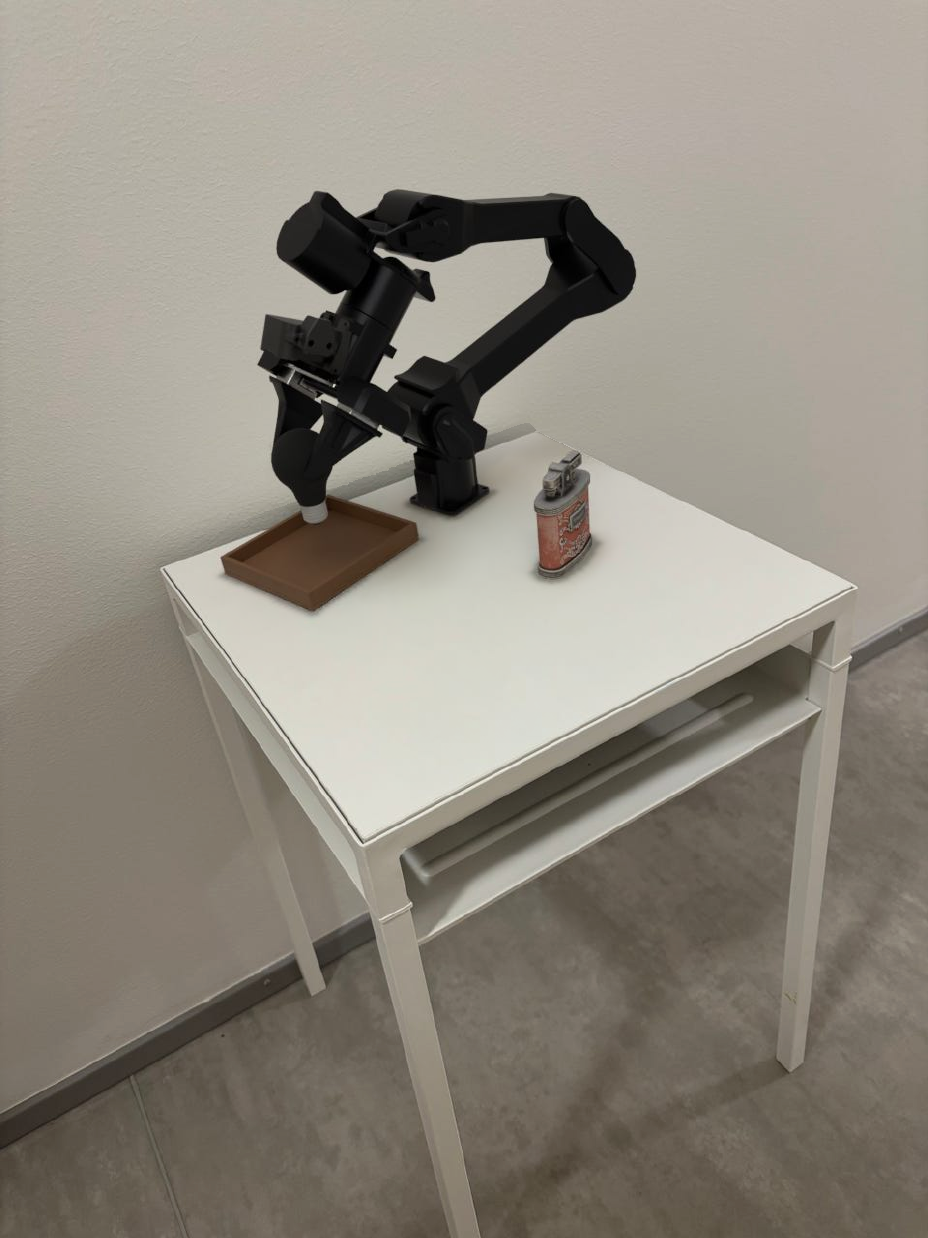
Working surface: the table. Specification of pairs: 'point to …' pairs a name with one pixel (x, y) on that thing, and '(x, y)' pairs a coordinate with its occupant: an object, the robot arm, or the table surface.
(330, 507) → the tray
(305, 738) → the table surface
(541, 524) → the lighter
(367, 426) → the robot arm
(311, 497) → the light bulb
